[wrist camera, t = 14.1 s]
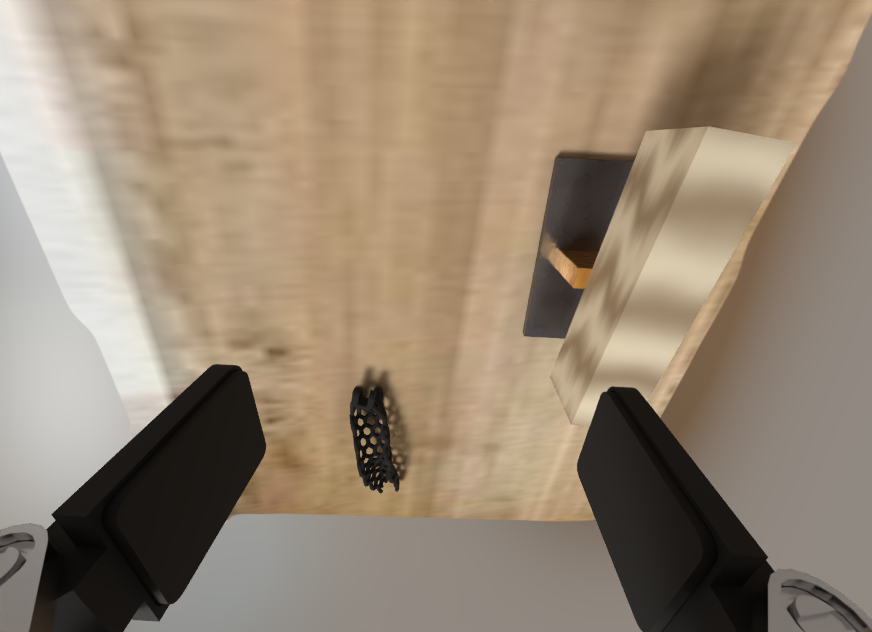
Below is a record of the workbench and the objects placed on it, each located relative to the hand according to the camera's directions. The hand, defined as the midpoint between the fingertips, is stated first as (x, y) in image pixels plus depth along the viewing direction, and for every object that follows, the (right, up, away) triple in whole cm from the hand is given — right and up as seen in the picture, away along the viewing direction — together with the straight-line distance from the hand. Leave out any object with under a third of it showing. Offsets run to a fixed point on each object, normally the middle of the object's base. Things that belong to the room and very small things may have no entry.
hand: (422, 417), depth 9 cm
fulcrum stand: (+18, +9, +29) cm, 35 cm away
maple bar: (+17, +6, +22) cm, 29 cm away
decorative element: (-8, -15, +42) cm, 46 cm away
